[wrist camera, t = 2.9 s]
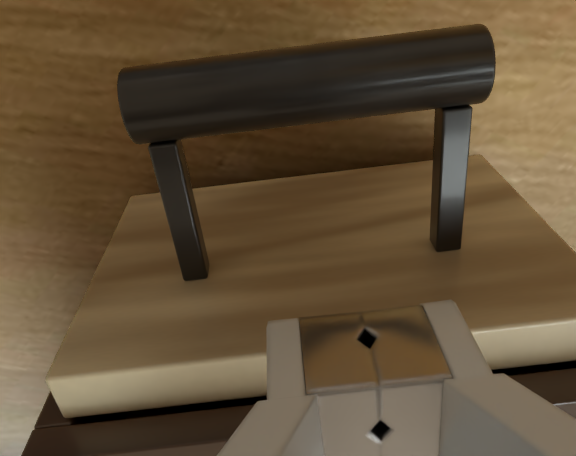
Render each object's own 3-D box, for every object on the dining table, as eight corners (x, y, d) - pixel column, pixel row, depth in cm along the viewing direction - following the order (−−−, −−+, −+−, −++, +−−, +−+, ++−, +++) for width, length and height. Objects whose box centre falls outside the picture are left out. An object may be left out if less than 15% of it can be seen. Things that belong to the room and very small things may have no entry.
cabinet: (128, 215, 18) (16, 463, 10) (485, 173, 18) (683, 389, 9) (206, 467, 25) (181, 729, 17) (458, 439, 25) (555, 689, 17)
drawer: (82, 34, 14) (-82, 137, 7) (497, -16, 14) (721, 40, 7) (208, 454, 23) (188, 665, 17) (455, 426, 23) (534, 629, 17)
